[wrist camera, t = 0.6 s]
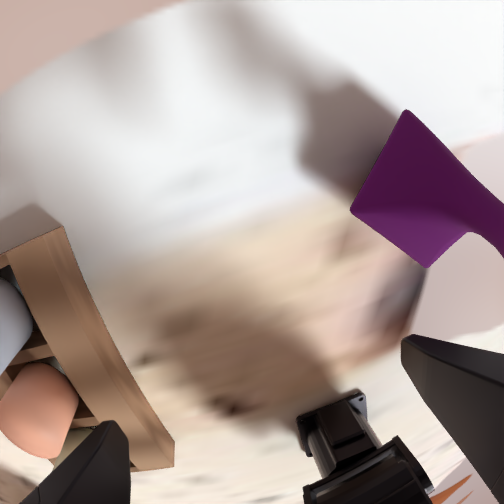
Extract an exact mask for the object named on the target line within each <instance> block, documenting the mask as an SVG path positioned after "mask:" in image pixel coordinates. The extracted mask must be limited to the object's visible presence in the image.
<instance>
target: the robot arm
mask: <svg viewBox="0 0 504 504" xmlns="http://www.w3.org/2000/svg"><path fill="white" fill-rule="evenodd" d="M401 363H402V366H403V367H404V369H405V371H406V372H407V374H408V376H409V377H410V379H411V381H412V382H413V384H414V386H415V387H416V389H417V391H418V392H419V394H420V396H421V397H422V399H423V400H424V402H425V403H426V404H427V406H428V407H429V408H430V410H431V411H432V412H433V414H434V415H435V416H436V417H437V419H438V420H439V421H440V423H441V424H442V425H443V427H444V428H445V429H446V431H447V432H448V433H449V434H450V436H451V437H452V438H453V440H454V441H455V442H456V444H457V445H458V446H459V448H460V449H461V451H462V452H463V453H464V455H465V456H466V457H467V459H468V460H469V461H470V463H471V464H472V465H473V467H474V468H475V469H476V471H477V472H478V474H479V475H480V477H481V478H482V479H483V481H484V482H485V484H486V485H487V486H488V488H489V489H490V490H491V492H492V494H493V495H494V497H495V498H496V499H497V501H498V502H499V504H504V354H501V353H496V352H491V351H487V350H482V349H477V348H473V347H468V346H464V345H459V344H455V343H450V342H446V341H442V340H437V339H433V338H429V337H424V336H420V335H416V334H411V335H409V336H407V337H404V338H403V339H402V340H401ZM302 420H303V421H302ZM296 423H297V426H298V429H299V433H300V436H301V439H302V442H303V446H304V449H305V452H306V455H307V457H314V460H315V462H316V464H317V467H318V469H319V472H320V474H321V477H322V479H321V480H319V481H317V482H315V483H312V484H310V485H309V484H308V485H306V486H304V487H303V492H304V495H303V498H304V504H433V503H432V501H431V500H430V498H429V496H428V495H429V494H430V493H432V492H433V491H434V487H433V485H432V483H431V481H430V479H429V477H428V476H427V474H426V472H425V471H424V469H423V468H422V466H421V465H420V463H419V462H418V461H417V459H416V458H415V457H414V456H413V454H412V453H411V452H410V451H409V449H408V448H407V447H406V445H405V444H404V443H403V442H402V440H401V439H400V438H399V437H398V435H397V436H395V437H394V438H392V440H391V441H389V442H388V443H386V444H384V445H382V444H381V442H380V441H379V439H378V438H377V436H376V434H375V433H374V431H373V430H372V428H371V427H370V425H369V423H368V422H367V406H366V396H365V395H364V393H358V394H355V395H353V396H351V397H348V398H346V399H343V400H341V401H338V402H336V403H333V404H331V405H328V406H326V407H323V408H320V409H318V410H315V411H312V412H310V413H307V414H304V415H301V416H299V417H297V419H296ZM130 493H131V475H130V455H129V441H128V438H127V436H126V435H125V433H124V432H123V430H122V429H121V428H120V426H119V425H118V423H117V422H116V421H115V420H107V421H102V422H101V423H100V424H99V425H98V426H97V427H96V428H95V429H94V430H93V431H92V432H91V433H90V434H89V435H88V436H87V437H86V438H85V439H84V440H83V441H82V442H81V443H80V444H79V445H78V446H77V447H76V448H75V449H74V450H73V451H72V452H71V453H70V454H69V455H68V456H67V457H66V458H65V459H64V460H63V461H62V462H61V463H60V464H59V465H58V466H57V467H56V468H55V469H54V470H53V471H52V472H51V473H50V474H49V475H48V476H47V477H46V478H45V479H44V480H43V481H42V482H41V483H40V484H39V487H36V488H35V489H34V490H33V491H32V492H31V493H30V494H29V495H28V496H27V497H26V498H25V499H24V500H23V501H22V502H20V503H19V504H130Z"/></svg>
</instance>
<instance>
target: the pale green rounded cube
mask: <svg viewBox="0 0 504 504" xmlns="http://www.w3.org/2000/svg"><path fill="white" fill-rule="evenodd" d="M92 431H93V429H89V428H84V427H79V428H71V429H69V430H68V433H67V435H66V438H65V441H64V444H63V447H62V449H61V452H60V454H59V455H58V456H57V459H56V462H55V465H54V468H53V470H54V469H55V468H56V467H57V466H58V465H59V464H60V463H61V462H62V461H63V460H64V459H65V458H66V457H67V456H68V455H69V454H70V453H71V452H72V451H73V450H74V449H75V448H76V447H77V446H78V445H79V444H80V443H81V442H82V441H83V440H84V439H85V438H86V437H87V436H88V435H89V434H90V433H91V432H92Z"/></svg>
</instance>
